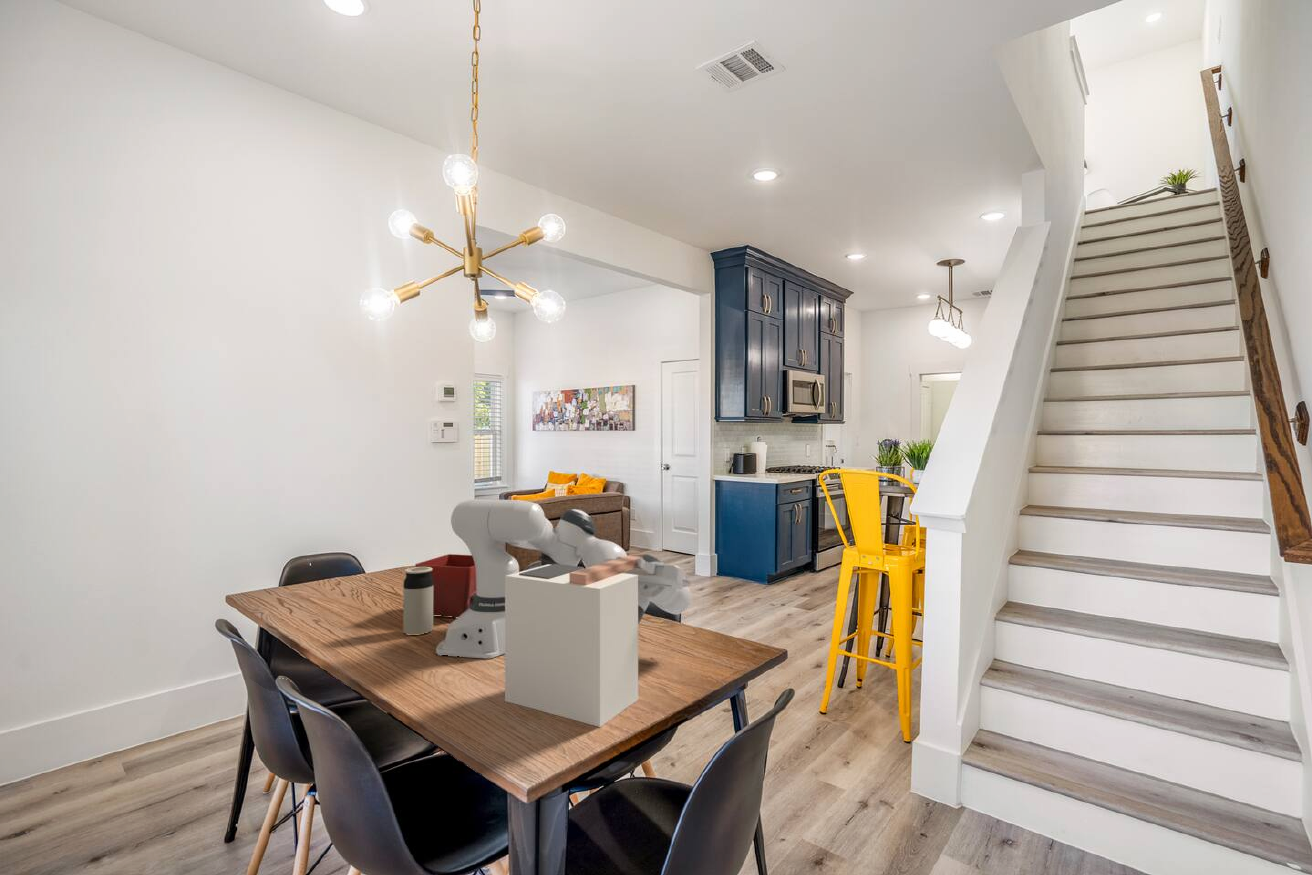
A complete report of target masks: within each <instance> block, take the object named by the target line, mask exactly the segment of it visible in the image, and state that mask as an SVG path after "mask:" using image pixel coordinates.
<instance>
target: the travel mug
mask: <svg viewBox="0 0 1312 875" xmlns="http://www.w3.org/2000/svg"><path fill="white" fill-rule="evenodd" d="M431 571H432V568H431V567H416V566H415V567H409V568H406V569H404V572H405V578H404V581H403V600H402V601H403V609H402V610H403V616H402V618H403V620H402V622H403V624H402V627H403V628H402V632H404V633H407V634H422V633H426V632H429V631H431V632H433V631H432V630H434V616H433V578H432V576H431ZM404 633H403V634H404Z"/></svg>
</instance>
